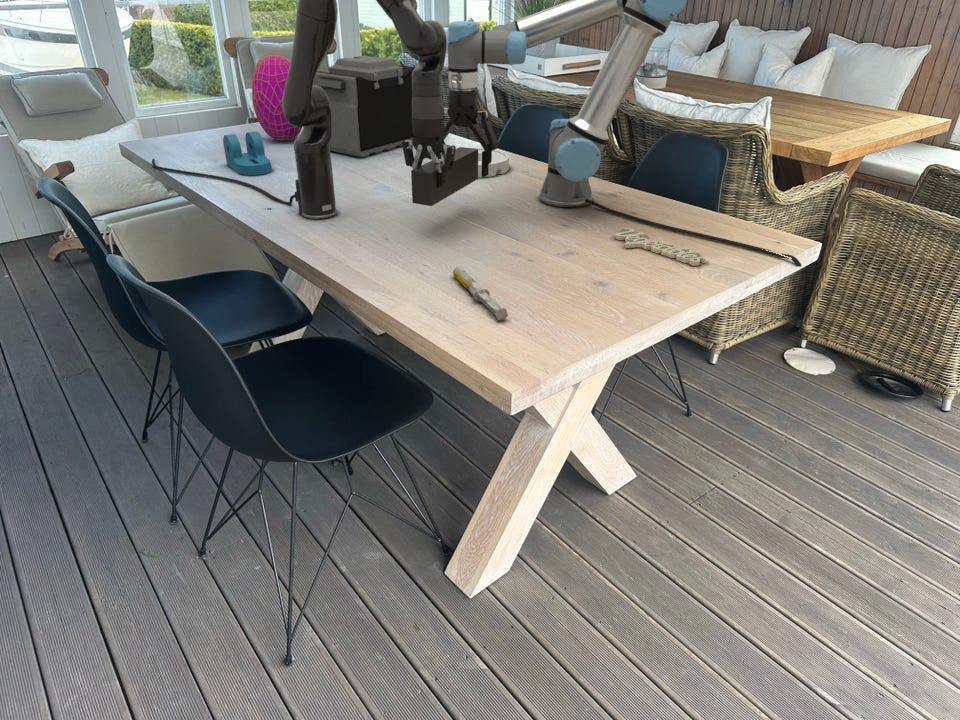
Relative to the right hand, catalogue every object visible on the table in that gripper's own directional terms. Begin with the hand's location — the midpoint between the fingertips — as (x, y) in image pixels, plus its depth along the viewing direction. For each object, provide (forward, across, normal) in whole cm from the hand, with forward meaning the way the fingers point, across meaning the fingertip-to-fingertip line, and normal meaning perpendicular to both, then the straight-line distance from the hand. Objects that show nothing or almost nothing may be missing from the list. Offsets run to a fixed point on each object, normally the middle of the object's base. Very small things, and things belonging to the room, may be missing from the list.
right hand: (463, 172), depth 186 cm
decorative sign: (+11, +55, -3) cm, 56 cm away
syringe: (+11, +27, -48) cm, 56 cm away
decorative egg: (+11, -100, +47) cm, 111 cm away
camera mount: (+11, -84, +9) cm, 85 cm away
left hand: (-1, 0, -19) cm, 19 cm away
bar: (+2, 0, -9) cm, 10 cm away
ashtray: (+11, -17, +44) cm, 49 cm away
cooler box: (+11, -66, +54) cm, 86 cm away
